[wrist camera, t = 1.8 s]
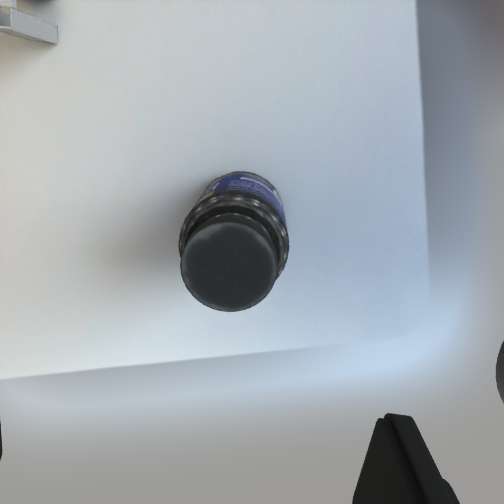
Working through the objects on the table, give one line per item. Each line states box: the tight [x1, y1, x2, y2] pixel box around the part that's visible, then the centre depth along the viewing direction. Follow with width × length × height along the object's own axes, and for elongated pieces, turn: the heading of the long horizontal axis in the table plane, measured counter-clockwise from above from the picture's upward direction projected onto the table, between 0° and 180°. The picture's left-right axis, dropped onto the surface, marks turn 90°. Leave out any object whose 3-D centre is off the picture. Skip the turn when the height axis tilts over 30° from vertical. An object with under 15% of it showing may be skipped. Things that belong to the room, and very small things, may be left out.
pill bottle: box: [179, 172, 289, 312], centre depth 25 cm, size 6×6×11 cm
